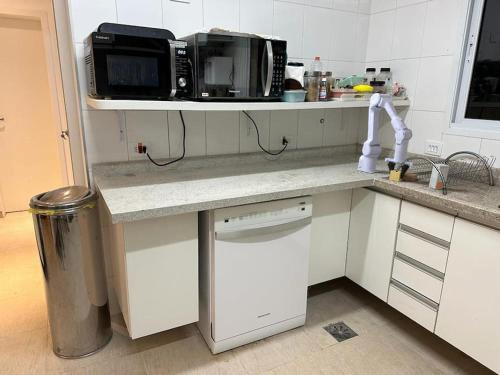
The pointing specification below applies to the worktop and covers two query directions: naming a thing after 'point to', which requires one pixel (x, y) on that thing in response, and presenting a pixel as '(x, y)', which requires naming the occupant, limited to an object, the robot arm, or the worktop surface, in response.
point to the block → (395, 175)
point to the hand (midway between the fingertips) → (396, 177)
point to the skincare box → (438, 176)
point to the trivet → (410, 176)
